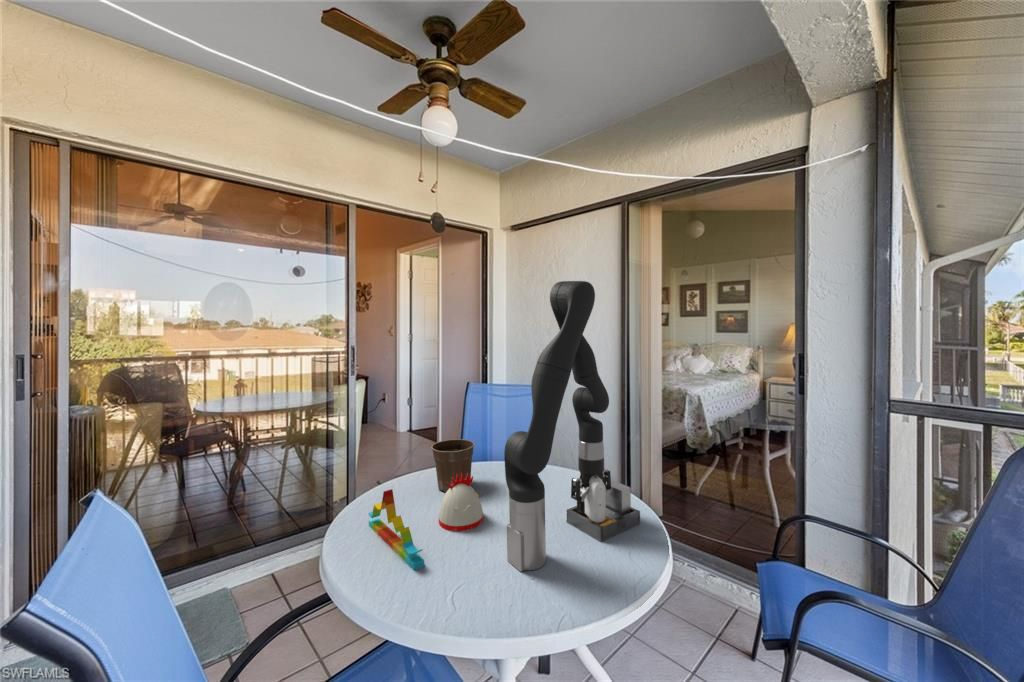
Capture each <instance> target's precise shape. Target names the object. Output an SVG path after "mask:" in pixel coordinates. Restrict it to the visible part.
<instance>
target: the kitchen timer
mask: <svg viewBox="0 0 1024 682" xmlns="http://www.w3.org/2000/svg"><path fill="white" fill-rule="evenodd" d="M473 479H474V476H473V475H471V479H469V474H468V473H467V476H466V479H464V477H463V474H461V480H459V476H458V474H457V476H456V481H455V480H454V479H453V478H452V481H453V485H450V484H449V483H448V482H447V483H448V485H449V487H450V488H449V490H448V491H447V492H445V493H444V496H443V498H442V500H441V504H440V507H439V511H438V524H439V526H440V527H441V528H442V529H444V530H446V531H450V532H465V531H470V530H473V529H475V528H477V527H478V526H480V525H481V524H482V523H483V521H484V510H483V506H482V504H481V500H480V498H479V497H480V495H479V494H478V492H476V491H475V490H474V488H473V487H472V486H471V485H472V483H473V481H474V480H473Z"/></svg>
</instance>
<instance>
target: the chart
mask: <svg viewBox="0 0 1024 682" xmlns="http://www.w3.org/2000/svg"><path fill="white" fill-rule="evenodd" d="M393 491H394V489H393V488H391V489H388V490H384V491H383V493H382V501H381V502H379V503H374V505H373V509H372V511H370V512H368V513H367V514H368V516H369V517H370V518H371V519H370V520H368V526H369V527H370V529H372V531H374V532H375V533H376V535H377V536H378V537H380V539H382V540H383V542H385V543H386V545H388V547H390V548H391V550H393V551H394V552H395V553H396V554H397V556H398V557H400V558H401V560H403V562H405V563H406V565H408V566H409V567H410V568H411V570H412V571H415V570H417V569H421V568H423V567H424V566H425V558H423V557H422V556H421V555H420V554H419V553H420V552H422V551H423V549H418V548H417V547H416V546H415V544H414V541H413V537H412V533H411V530H410V526H407V527H405V525H404V521H403V518H402V516H401V514H400V515H397V510H396V505H395V498H394V492H393ZM383 510H385V512H386V518H387V524H393V528H394V530H395V531H394V530H392V529H391V528H390V527H389V526H388V525H387V524H385V522H384V521H382V520H381V519H380V518H379V517H381V513H382V511H383ZM397 533H400V536H399V535H398V534H397Z"/></svg>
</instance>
